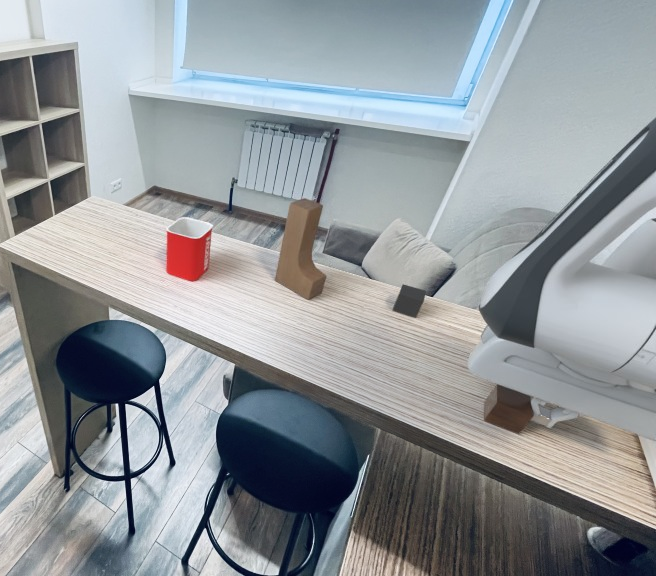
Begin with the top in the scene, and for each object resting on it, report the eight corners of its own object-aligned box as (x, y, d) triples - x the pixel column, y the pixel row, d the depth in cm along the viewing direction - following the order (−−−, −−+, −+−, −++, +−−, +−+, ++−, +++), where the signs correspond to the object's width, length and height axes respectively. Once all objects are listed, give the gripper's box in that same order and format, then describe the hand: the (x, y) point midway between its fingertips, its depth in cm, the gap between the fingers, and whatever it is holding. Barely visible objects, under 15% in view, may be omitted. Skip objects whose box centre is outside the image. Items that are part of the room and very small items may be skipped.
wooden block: (322, 293, 84) (345, 212, 73) (308, 301, 82) (330, 219, 71) (287, 274, 90) (304, 197, 80) (273, 280, 88) (289, 202, 78)
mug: (195, 283, 87) (198, 240, 81) (162, 272, 91) (162, 230, 85) (219, 259, 96) (223, 217, 89) (188, 250, 99) (190, 209, 93)
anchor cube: (418, 307, 80) (426, 290, 77) (415, 318, 77) (423, 301, 75) (395, 300, 81) (402, 284, 79) (392, 310, 79) (399, 294, 77)
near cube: (517, 414, 59) (532, 396, 56) (518, 434, 56) (534, 415, 54) (484, 402, 61) (497, 383, 58) (483, 420, 58) (497, 402, 56)
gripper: (492, 328, 51) (446, 400, 59) (742, 405, 41) (646, 479, 49) (493, 303, 55) (451, 373, 63) (721, 367, 45) (636, 441, 53)
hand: (537, 420), depth 56 cm, fingers closed
